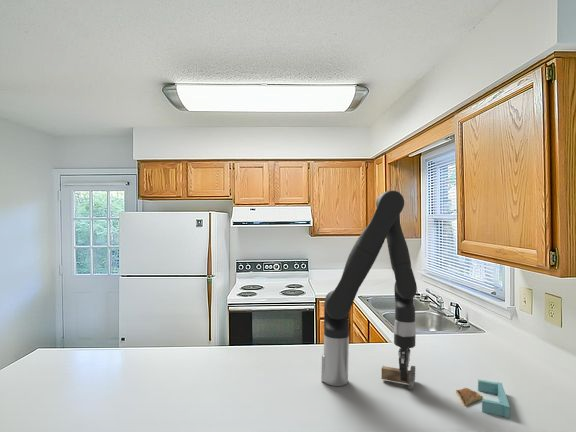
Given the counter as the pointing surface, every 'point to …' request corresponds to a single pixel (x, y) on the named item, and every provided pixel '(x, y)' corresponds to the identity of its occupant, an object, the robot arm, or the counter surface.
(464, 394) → the shard
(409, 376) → the hammer
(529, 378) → the counter surface
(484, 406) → the u-shaped bracket
